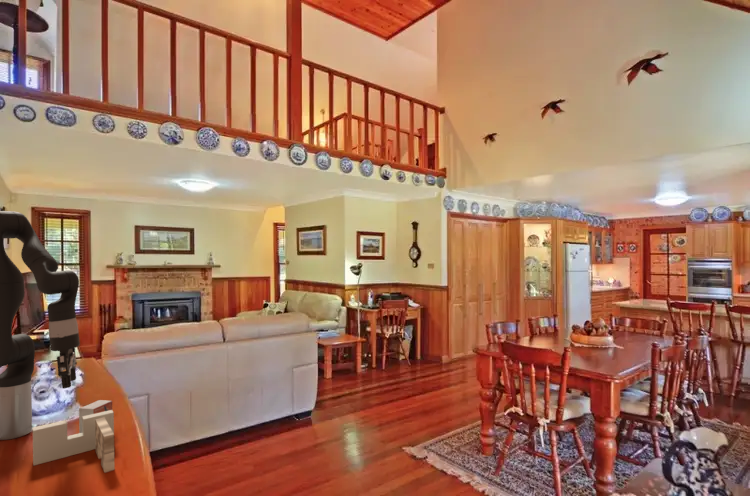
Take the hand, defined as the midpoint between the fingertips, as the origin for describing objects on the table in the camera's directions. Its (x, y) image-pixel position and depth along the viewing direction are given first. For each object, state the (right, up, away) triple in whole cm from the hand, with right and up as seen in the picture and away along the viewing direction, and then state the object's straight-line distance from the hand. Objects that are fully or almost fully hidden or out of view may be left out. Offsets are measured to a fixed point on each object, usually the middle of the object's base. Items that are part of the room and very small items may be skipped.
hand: (69, 384), depth 135 cm
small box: (+5, -19, +6) cm, 21 cm away
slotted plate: (+18, -19, -11) cm, 28 cm away
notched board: (+6, -19, -6) cm, 21 cm away
